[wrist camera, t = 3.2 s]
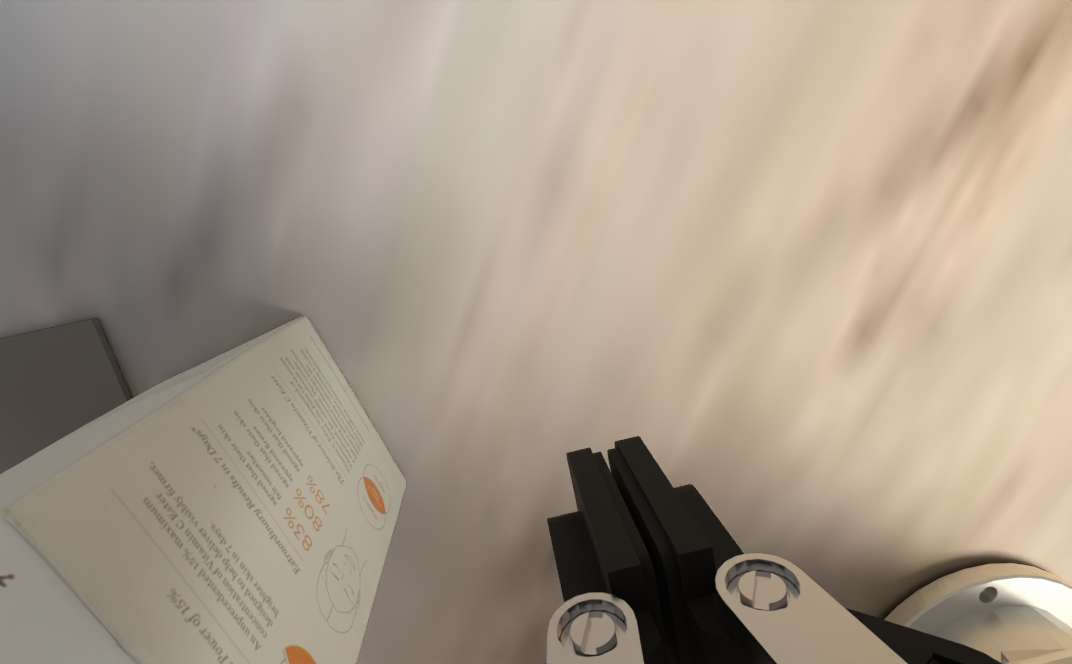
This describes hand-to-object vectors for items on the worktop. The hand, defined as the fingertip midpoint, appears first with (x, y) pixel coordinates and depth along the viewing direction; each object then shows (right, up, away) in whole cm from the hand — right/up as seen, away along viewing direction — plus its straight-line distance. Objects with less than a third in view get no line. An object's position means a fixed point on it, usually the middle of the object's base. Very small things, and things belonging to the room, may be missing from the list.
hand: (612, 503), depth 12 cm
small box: (-11, 0, +9) cm, 15 cm away
